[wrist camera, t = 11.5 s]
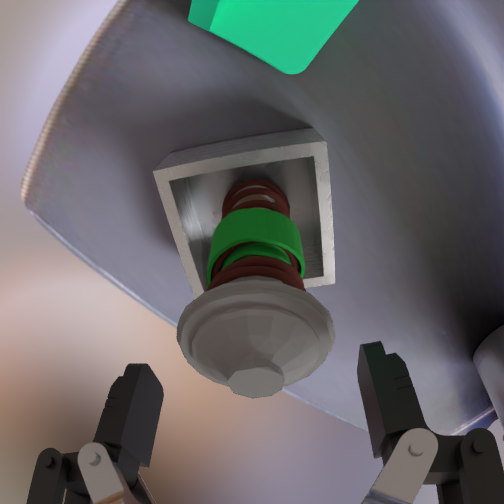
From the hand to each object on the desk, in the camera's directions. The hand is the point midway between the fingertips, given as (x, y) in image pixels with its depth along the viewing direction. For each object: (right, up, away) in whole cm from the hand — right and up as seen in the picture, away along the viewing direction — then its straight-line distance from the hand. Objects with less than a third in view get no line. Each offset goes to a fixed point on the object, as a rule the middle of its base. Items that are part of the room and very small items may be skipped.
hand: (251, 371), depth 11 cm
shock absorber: (0, +8, +12) cm, 15 cm away
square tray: (0, +8, +13) cm, 15 cm away
